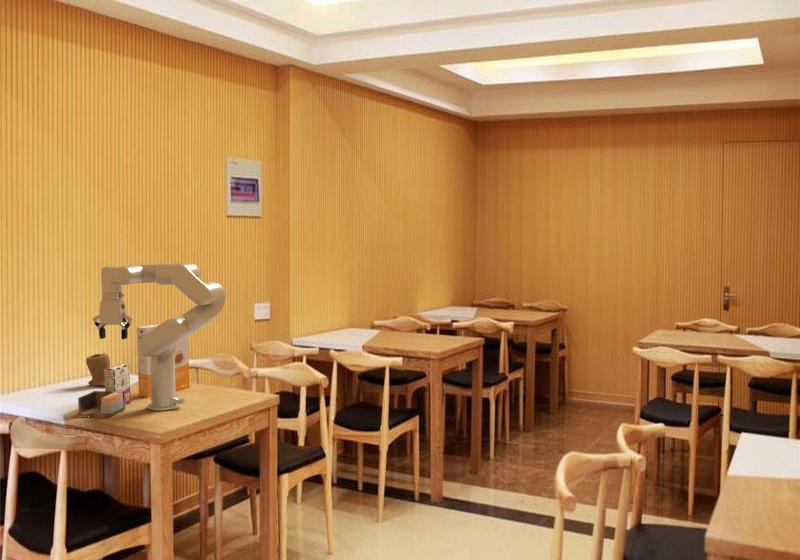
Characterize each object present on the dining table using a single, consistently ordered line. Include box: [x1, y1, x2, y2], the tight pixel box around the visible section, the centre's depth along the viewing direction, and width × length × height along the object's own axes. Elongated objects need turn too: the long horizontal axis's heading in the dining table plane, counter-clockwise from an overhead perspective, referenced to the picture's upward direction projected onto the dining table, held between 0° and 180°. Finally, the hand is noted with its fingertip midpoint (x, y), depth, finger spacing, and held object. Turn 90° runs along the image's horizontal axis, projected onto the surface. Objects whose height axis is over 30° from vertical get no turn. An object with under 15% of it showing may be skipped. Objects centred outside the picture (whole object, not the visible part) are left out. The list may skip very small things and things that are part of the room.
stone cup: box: [85, 352, 111, 387], centre depth 353 cm, size 15×12×15 cm
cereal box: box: [136, 323, 190, 398], centre depth 339 cm, size 22×6×30 cm, turn 146°
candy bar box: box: [104, 363, 132, 405], centre depth 314 cm, size 11×5×16 cm, turn 168°
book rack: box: [77, 390, 126, 418], centre depth 301 cm, size 13×12×8 cm
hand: (113, 338), depth 312 cm, fingers open, 9 cm apart
